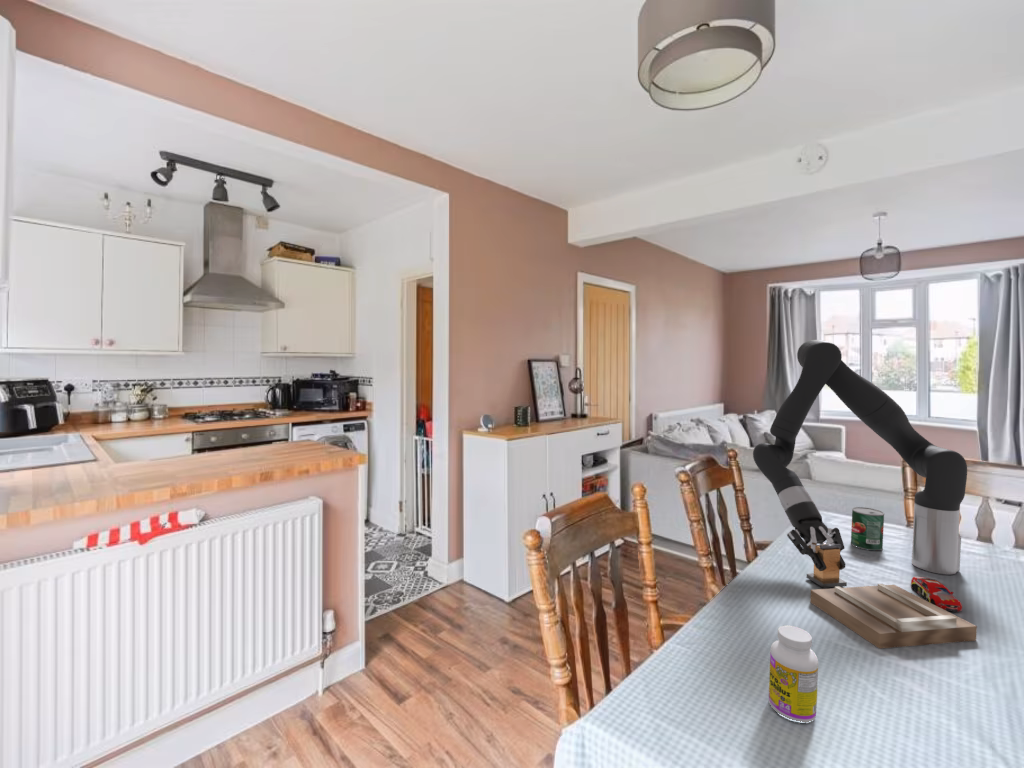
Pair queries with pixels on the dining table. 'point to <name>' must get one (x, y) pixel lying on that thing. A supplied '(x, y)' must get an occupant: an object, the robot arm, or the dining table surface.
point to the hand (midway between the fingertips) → (832, 568)
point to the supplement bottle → (793, 675)
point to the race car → (936, 593)
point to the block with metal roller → (828, 567)
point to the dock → (892, 616)
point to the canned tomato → (867, 528)
